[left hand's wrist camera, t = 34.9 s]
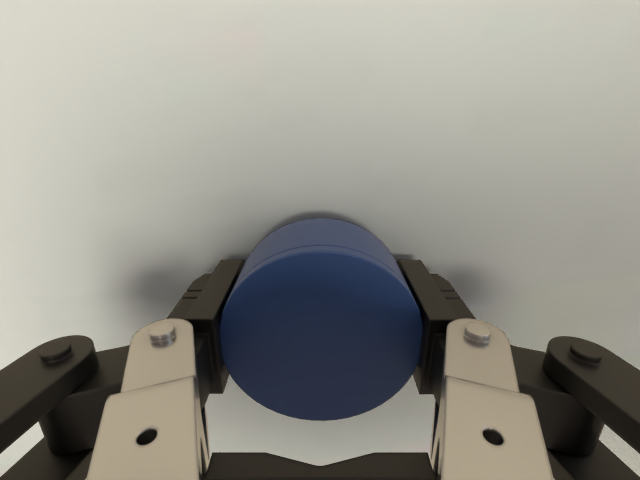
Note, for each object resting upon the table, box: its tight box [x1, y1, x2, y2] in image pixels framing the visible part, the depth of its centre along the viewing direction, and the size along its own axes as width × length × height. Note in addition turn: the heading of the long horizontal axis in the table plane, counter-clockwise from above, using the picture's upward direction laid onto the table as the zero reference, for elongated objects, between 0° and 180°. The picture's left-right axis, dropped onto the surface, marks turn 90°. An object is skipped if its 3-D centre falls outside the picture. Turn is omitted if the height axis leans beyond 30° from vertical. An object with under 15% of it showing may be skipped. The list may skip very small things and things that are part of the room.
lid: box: [219, 218, 423, 421], centre depth 10 cm, size 5×5×2 cm
